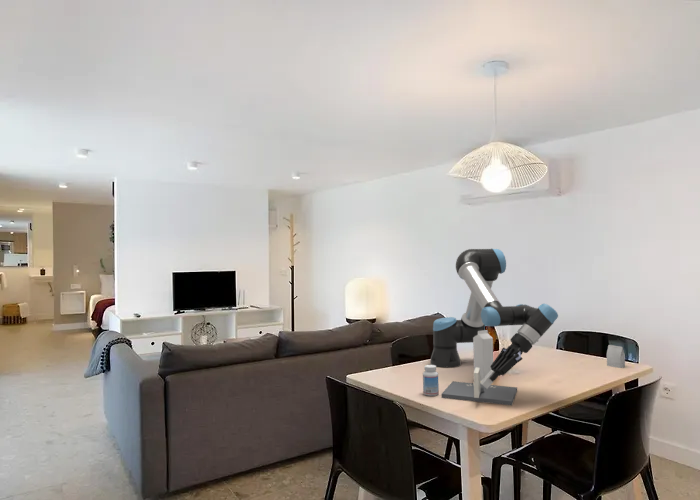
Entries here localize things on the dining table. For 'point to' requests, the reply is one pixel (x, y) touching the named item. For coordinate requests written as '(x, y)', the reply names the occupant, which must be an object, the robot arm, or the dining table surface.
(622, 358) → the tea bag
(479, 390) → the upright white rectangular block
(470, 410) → the dining table surface
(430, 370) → the pill bottle
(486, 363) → the milk
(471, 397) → the dark grey flat slab
